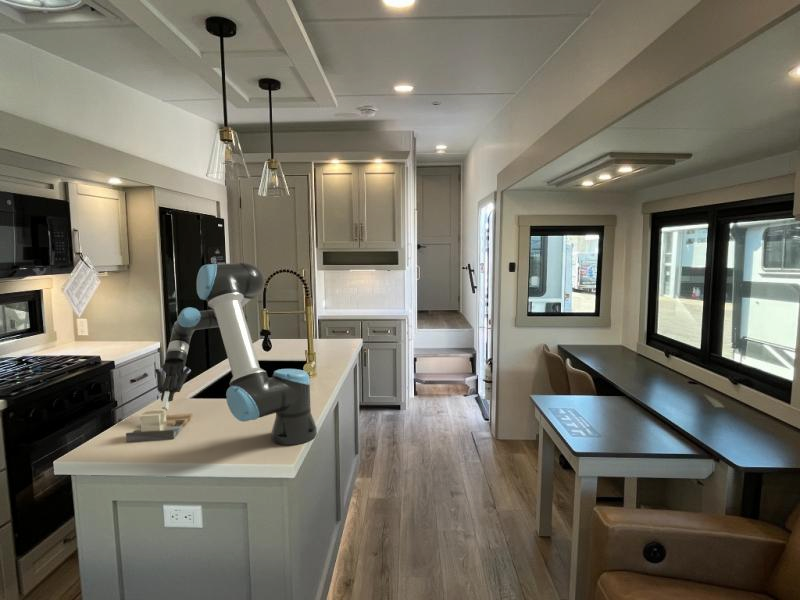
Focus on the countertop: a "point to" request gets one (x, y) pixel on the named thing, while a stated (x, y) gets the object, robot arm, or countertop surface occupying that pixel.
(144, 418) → the ash block
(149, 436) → the trap board
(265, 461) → the countertop surface
